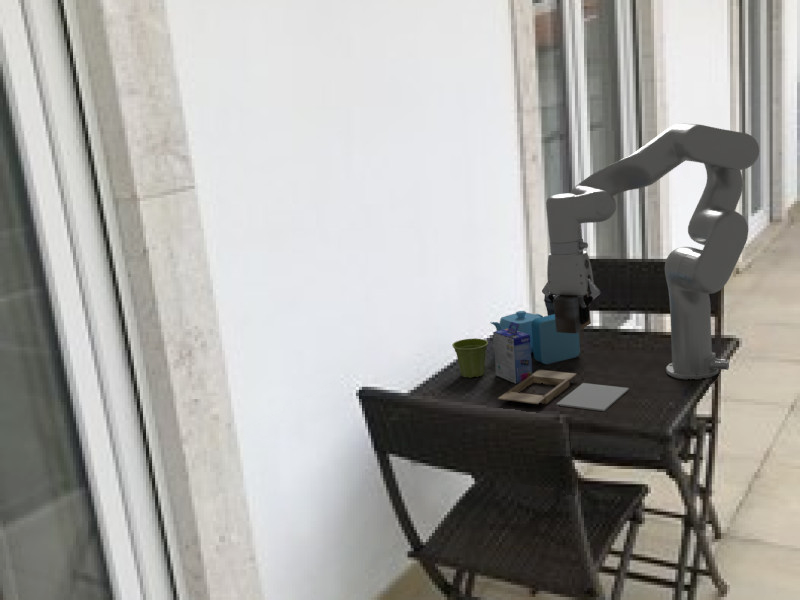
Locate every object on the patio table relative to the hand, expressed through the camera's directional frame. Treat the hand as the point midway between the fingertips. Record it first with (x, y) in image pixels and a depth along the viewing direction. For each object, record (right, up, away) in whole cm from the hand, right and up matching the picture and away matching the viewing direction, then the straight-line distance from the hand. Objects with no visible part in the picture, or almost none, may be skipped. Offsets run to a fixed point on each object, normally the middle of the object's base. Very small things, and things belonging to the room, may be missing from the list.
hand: (573, 321), depth 229 cm
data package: (+2, -11, +33) cm, 35 cm away
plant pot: (-22, -15, +28) cm, 39 cm away
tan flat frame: (-7, -18, +9) cm, 21 cm away
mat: (+5, -18, +2) cm, 19 cm away
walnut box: (0, -2, 0) cm, 2 cm away
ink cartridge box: (-11, -15, +22) cm, 29 cm away
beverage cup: (+5, -6, +52) cm, 52 cm away
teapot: (-7, -10, +43) cm, 45 cm away
